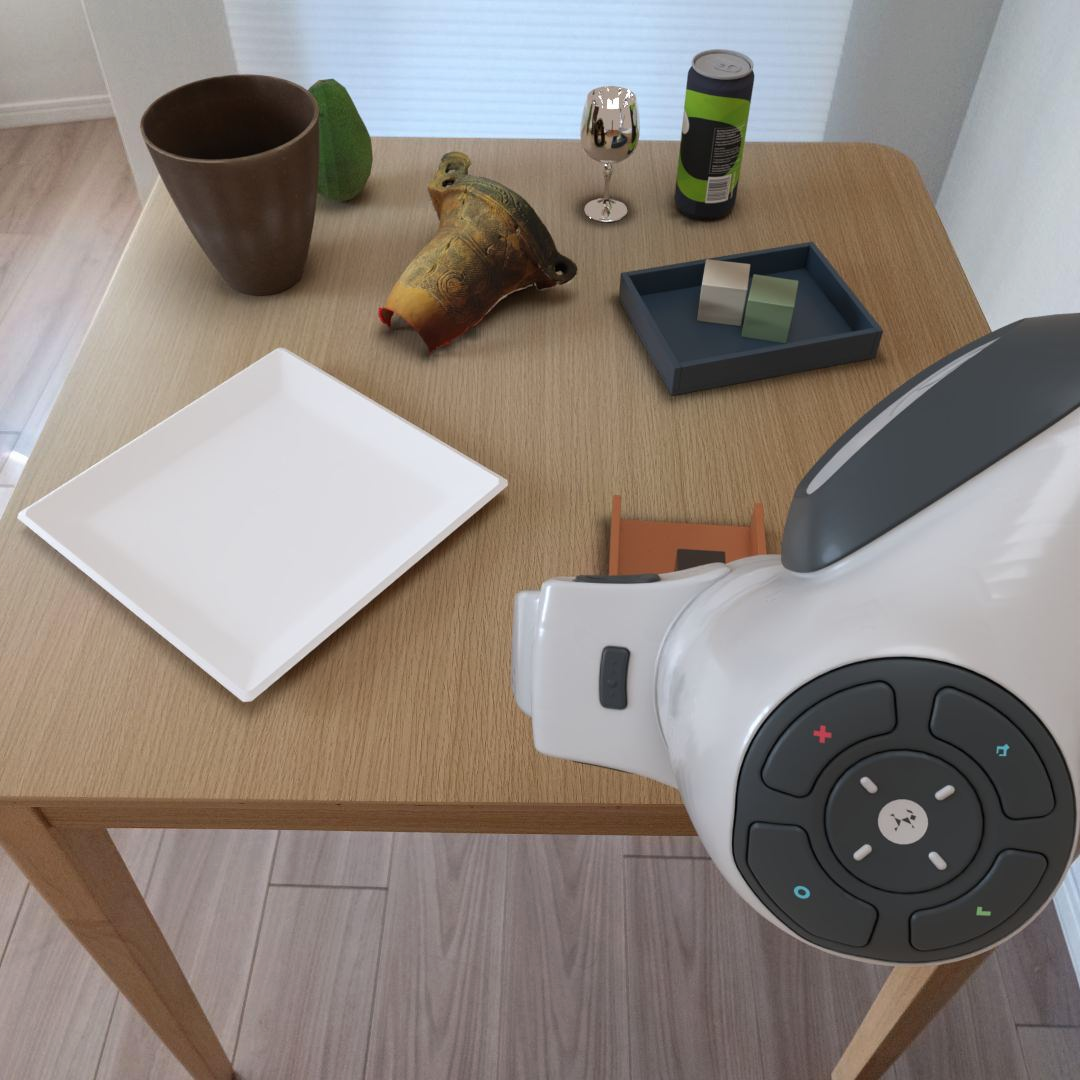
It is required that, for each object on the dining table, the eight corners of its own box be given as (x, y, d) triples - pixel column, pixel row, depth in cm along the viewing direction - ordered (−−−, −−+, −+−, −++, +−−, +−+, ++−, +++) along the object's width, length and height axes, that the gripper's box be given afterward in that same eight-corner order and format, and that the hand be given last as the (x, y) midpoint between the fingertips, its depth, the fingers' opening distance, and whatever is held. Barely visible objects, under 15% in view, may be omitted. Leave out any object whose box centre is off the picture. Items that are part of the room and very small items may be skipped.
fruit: (303, 221, 111) (283, 107, 102) (296, 181, 116) (276, 69, 107) (382, 211, 112) (369, 98, 103) (372, 172, 118) (358, 61, 109)
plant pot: (331, 322, 100) (304, 160, 88) (168, 321, 100) (119, 159, 88) (351, 231, 110) (329, 74, 98) (203, 230, 110) (162, 73, 98)
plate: (511, 499, 85) (511, 480, 84) (252, 720, 72) (246, 703, 70) (284, 362, 96) (280, 343, 95) (22, 532, 83) (13, 513, 81)
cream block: (750, 263, 99) (744, 300, 102) (706, 258, 99) (701, 295, 102) (747, 289, 96) (741, 326, 99) (701, 284, 97) (696, 321, 100)
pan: (766, 674, 74) (792, 579, 67) (604, 663, 75) (611, 568, 67) (756, 532, 83) (778, 434, 75) (610, 523, 83) (618, 425, 76)
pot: (315, 240, 93) (452, 103, 97) (331, 303, 104) (454, 177, 108) (472, 361, 91) (605, 215, 95) (472, 413, 102) (591, 280, 106)
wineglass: (587, 229, 110) (591, 115, 101) (570, 199, 114) (573, 87, 105) (641, 221, 111) (650, 107, 102) (623, 192, 115) (630, 80, 106)
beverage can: (742, 198, 114) (764, 55, 103) (723, 228, 111) (744, 83, 99) (685, 185, 116) (701, 42, 105) (665, 214, 112) (679, 69, 101)
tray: (807, 268, 106) (812, 241, 104) (875, 357, 97) (883, 330, 95) (618, 299, 102) (620, 272, 100) (671, 396, 93) (674, 368, 91)
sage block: (798, 280, 97) (790, 317, 100) (753, 273, 98) (747, 310, 101) (794, 306, 94) (786, 344, 97) (747, 299, 95) (741, 337, 98)
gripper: (1088, 609, 38) (958, 574, 52) (499, 577, 39) (525, 551, 53) (1074, 788, 38) (948, 706, 52) (491, 752, 39) (519, 681, 53)
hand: (732, 628), depth 52 cm, fingers open, 8 cm apart
